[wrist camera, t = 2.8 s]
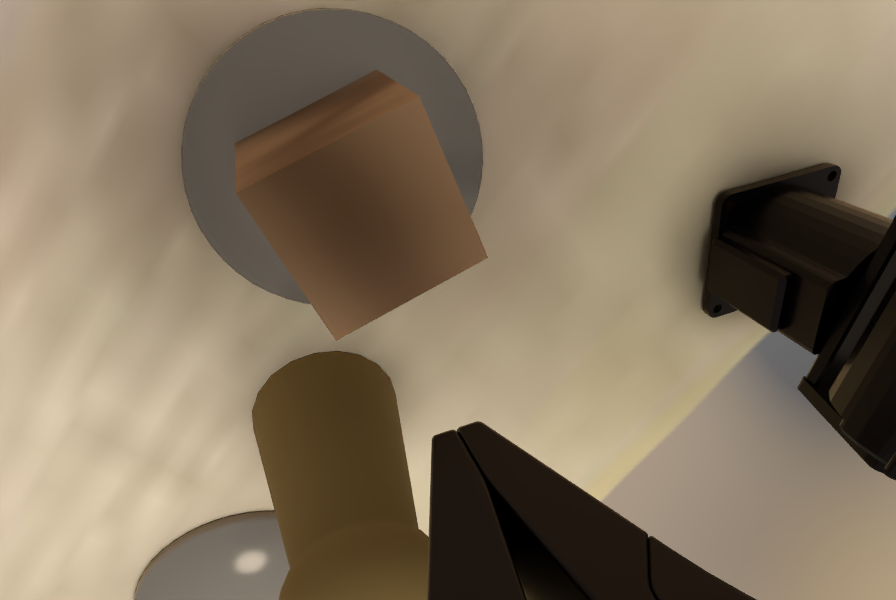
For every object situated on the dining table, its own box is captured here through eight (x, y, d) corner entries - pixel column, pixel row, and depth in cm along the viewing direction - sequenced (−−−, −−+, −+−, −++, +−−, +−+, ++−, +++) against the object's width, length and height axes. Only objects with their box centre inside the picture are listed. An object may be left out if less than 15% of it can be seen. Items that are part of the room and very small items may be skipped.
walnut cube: (376, 69, 18) (419, 96, 14) (437, 202, 21) (488, 257, 17) (234, 142, 18) (235, 193, 14) (315, 267, 21) (336, 340, 16)
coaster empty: (326, 482, 26) (328, 492, 26) (370, 605, 32) (372, 616, 31) (94, 561, 24) (91, 573, 24) (182, 679, 30) (181, 691, 29)
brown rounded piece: (297, 486, 26) (332, 761, 17) (221, 397, 23) (213, 681, 13) (416, 422, 26) (512, 657, 17) (359, 326, 23) (441, 554, 14)
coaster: (459, -17, 18) (465, -17, 18) (489, 260, 23) (494, 266, 23) (128, 40, 16) (125, 42, 16) (241, 328, 21) (241, 337, 21)
